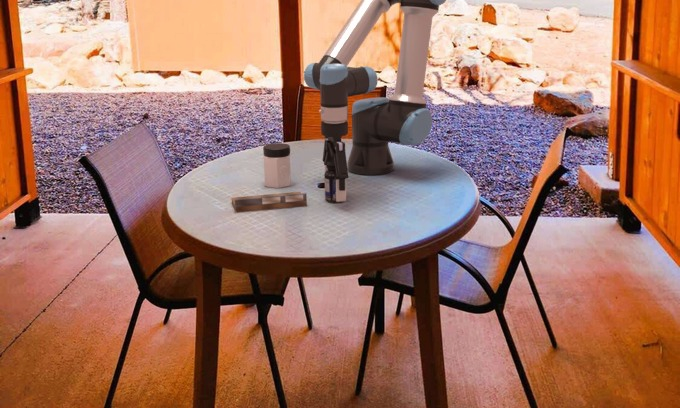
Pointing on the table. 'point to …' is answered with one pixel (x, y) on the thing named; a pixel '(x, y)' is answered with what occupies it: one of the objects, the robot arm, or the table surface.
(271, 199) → the wooden compartment tray
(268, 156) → the jar
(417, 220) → the table surface
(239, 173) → the table surface
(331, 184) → the pill bottle
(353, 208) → the table surface
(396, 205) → the table surface
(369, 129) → the robot arm
